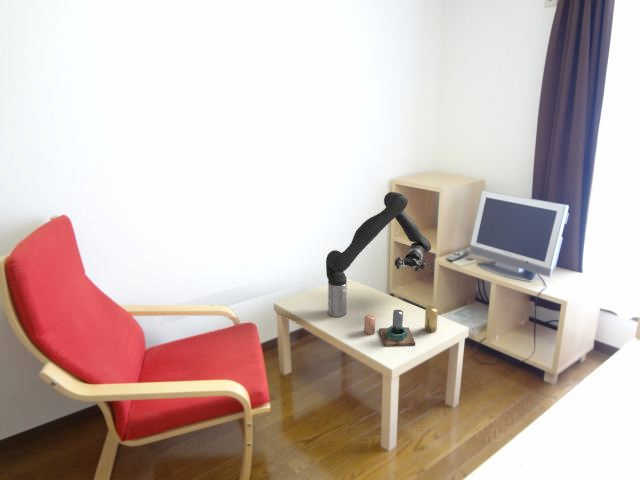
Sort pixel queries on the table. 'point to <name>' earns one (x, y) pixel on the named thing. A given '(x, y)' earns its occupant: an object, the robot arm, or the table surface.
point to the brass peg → (431, 319)
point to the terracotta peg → (369, 324)
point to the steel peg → (397, 322)
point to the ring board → (396, 337)
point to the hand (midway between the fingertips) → (406, 268)
